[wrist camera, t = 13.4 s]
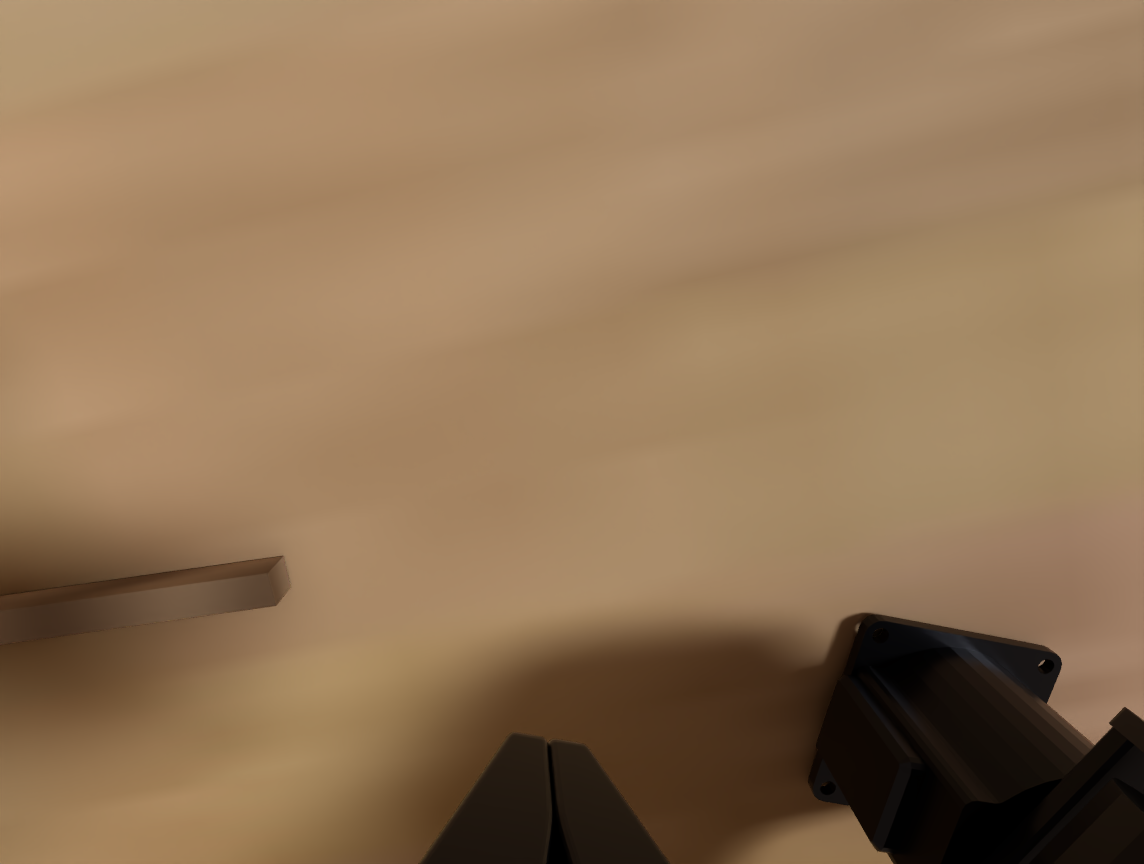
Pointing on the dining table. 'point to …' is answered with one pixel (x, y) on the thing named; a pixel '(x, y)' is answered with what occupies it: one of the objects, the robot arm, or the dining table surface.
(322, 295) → the dining table surface
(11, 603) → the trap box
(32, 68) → the dining table surface
